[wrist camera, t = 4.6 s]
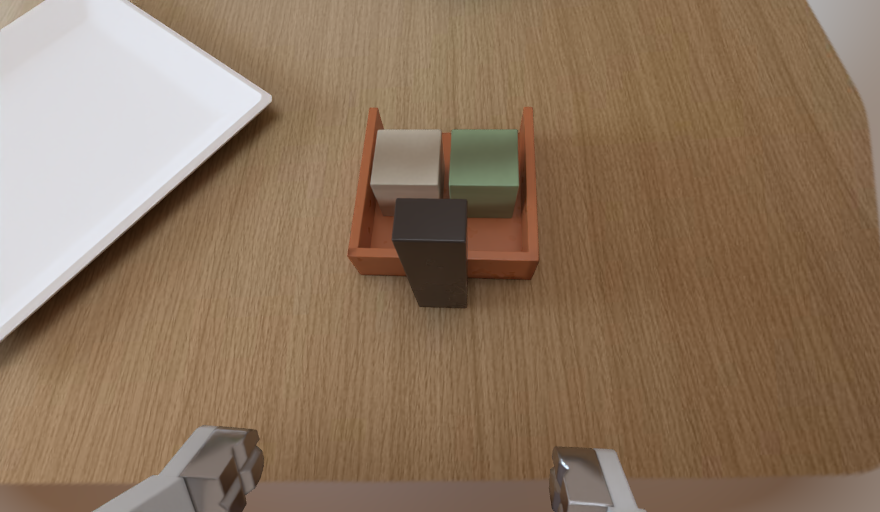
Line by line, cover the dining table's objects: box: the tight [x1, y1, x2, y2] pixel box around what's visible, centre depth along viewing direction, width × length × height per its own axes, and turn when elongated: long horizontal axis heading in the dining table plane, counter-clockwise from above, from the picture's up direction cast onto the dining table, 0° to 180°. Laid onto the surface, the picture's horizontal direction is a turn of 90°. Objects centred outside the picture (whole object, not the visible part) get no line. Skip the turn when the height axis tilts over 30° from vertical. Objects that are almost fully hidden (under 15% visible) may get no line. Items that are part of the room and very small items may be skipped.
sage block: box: [449, 130, 519, 218], centre depth 26 cm, size 4×4×4 cm
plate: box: [0, 0, 272, 343], centre depth 31 cm, size 26×26×2 cm
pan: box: [347, 107, 539, 308], centre depth 23 cm, size 13×11×10 cm
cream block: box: [370, 130, 445, 216], centre depth 26 cm, size 4×4×4 cm
